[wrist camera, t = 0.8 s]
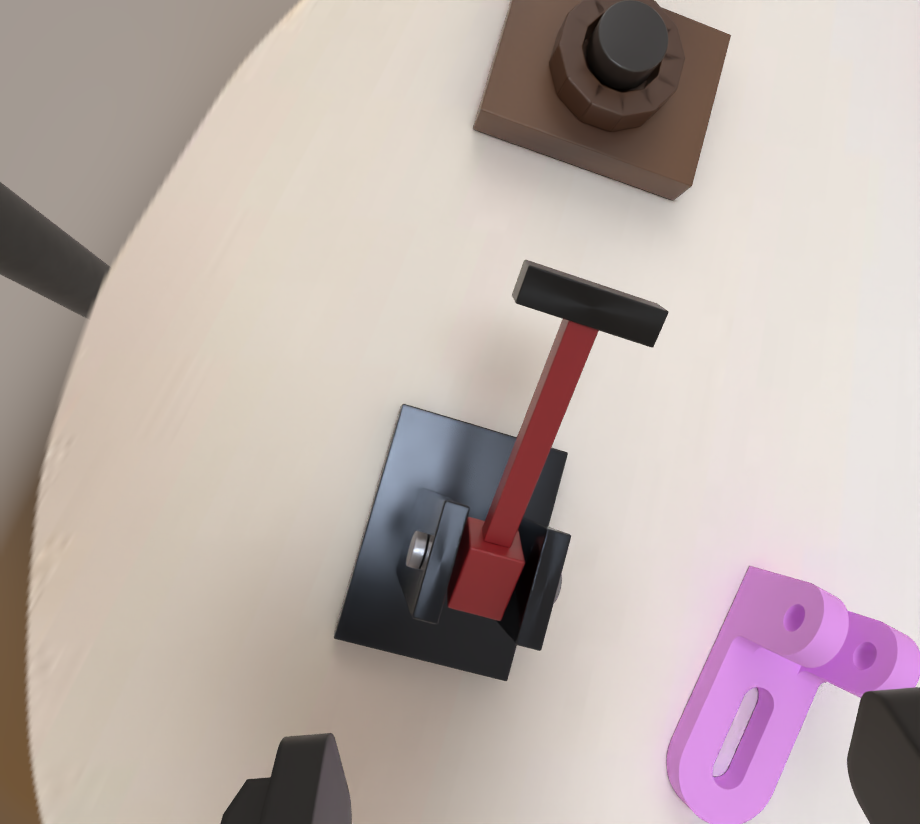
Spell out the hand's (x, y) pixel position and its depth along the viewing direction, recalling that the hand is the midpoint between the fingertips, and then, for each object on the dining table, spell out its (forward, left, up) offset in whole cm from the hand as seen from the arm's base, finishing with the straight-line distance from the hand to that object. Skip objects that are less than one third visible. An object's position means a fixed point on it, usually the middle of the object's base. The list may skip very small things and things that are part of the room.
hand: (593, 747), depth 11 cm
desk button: (+2, +26, -22) cm, 34 cm away
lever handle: (+1, +6, -15) cm, 16 cm away
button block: (+2, +26, -25) cm, 37 cm away
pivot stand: (+1, 0, -25) cm, 26 cm away
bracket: (+19, -4, -26) cm, 32 cm away
